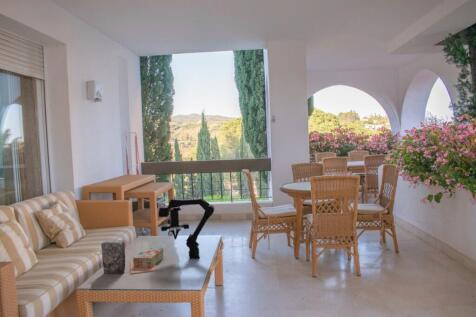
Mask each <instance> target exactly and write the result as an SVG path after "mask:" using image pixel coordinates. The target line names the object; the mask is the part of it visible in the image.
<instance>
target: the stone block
mask: <svg viewBox="0 0 476 317" xmlns="http://www.w3.org/2000/svg"><path fill="white" fill-rule="evenodd" d="M101 256H102V267H103V268H102V269H103V274H104V275H119V274H120V275H123V274H124V273H125V270H126V245H125V241H124V240H123V239H107V240H104V241H102V242H101Z"/></svg>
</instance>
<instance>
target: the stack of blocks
mask: <svg viewBox="0 0 476 317" xmlns="http://www.w3.org/2000/svg"><path fill="white" fill-rule="evenodd" d="M163 258H164V248H159V247H158V248H153V247H151V248H150V249H148V250H146V251H144V252H143V251H141V252H139V253H138V254H136V255H135V256H133V258H132V260H133V265H134V267H147V268H151V267H153V266H154V265H155V264H156V265H157V263H158V262H160V261H161V260H162V259H163Z"/></svg>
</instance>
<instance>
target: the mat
mask: <svg viewBox="0 0 476 317" xmlns="http://www.w3.org/2000/svg"><path fill="white" fill-rule="evenodd" d="M129 262H130V263H129V267H130V269H129V270H130V275H135V274H143V273H149V272H150V273H151V272H157V271H158V267H157V263H156V264H155V265H154V266H153V267H151V268H147V267H134V265H133V259H132V260H130V261H129Z"/></svg>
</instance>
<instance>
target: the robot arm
mask: <svg viewBox="0 0 476 317" xmlns="http://www.w3.org/2000/svg"><path fill="white" fill-rule="evenodd" d="M197 205H199V206H200V207H201V208H202V209H203V210H204V211H203V212H204V213H203V215H202V217H201V220H200V222H199V223H198V225H196V226H197V227H196V228H195V230H194V232H193V233H192V234H191V233H190V234H189V235H188V237H187V239H186V243H185V245H186V247H187V248H188V258H189V259H190V260H194V259H201V257H200V248H199V246H200V243H199V242H197V240H198V238H199V237H198V236H199V235H200V233H201V231H202V230H203V228H204V226H205V224H206V223H207V221H208V220H209V218H211V216H212V215H213V214H214V212H215V210H216V209H215V206H214V205H213V204H210V203H209V202H207V201H206V200H205V199H204V198H202V197H200V198H189V199H187V198H186V199H182V198H175V197H174V198H172V199H170V200H169V202H168V206H166V207H161V206H160V207H159V210H158V217H159V218H168V217H170V218H168V219H167V221H166V222H167V225H166V224H164V225H160V231H161V232H166V231H168V230H169V232H171V234H172V236H173V238H174V240H177V239H178V235H179V232H180V231H182V230H181V229H184V230H188V229H190V225H189V223H187V222H184V223H183V222H182V224H180V218H179V217H180V216H179V213H180V212H179V211H182V208H180V207H182V206H197Z"/></svg>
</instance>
